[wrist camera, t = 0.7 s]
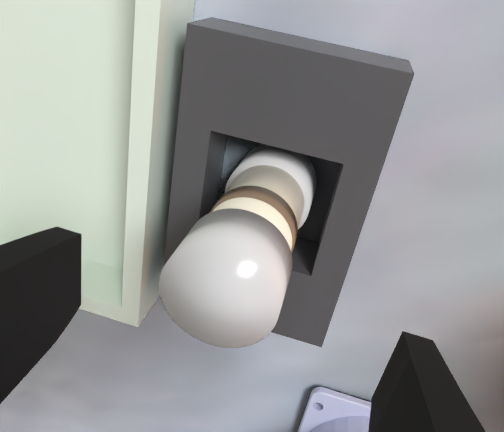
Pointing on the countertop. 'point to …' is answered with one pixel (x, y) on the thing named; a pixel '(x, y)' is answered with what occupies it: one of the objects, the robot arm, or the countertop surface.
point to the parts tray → (93, 136)
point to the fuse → (241, 251)
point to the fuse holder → (286, 140)
